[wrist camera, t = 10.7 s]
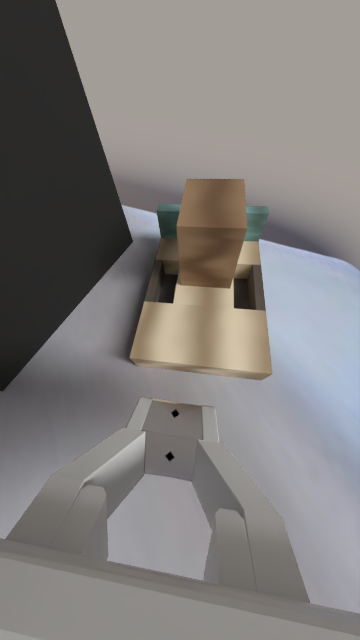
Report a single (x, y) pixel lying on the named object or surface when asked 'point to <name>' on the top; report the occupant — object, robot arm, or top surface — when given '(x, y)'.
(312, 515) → the top surface
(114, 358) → the top surface
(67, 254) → the binders
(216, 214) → the walnut block
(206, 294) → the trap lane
